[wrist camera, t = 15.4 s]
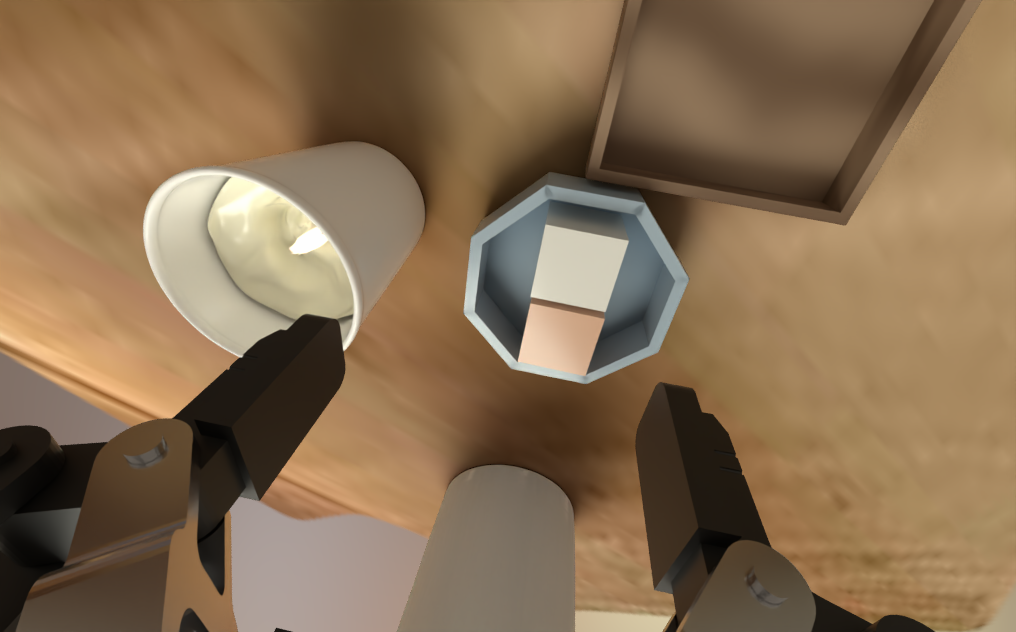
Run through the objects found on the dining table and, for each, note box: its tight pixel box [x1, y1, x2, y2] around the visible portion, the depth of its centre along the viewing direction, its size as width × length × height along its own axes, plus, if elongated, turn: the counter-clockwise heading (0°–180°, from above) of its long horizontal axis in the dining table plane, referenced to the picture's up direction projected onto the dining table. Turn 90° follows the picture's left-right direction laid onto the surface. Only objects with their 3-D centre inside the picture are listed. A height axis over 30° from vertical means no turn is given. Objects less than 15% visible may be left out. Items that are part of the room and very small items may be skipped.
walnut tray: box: [585, 0, 982, 225], centre depth 20 cm, size 14×14×3 cm
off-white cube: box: [530, 201, 629, 312], centre depth 25 cm, size 4×4×4 cm
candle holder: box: [143, 141, 425, 358], centre depth 23 cm, size 10×10×12 cm
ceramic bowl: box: [464, 172, 689, 384], centre depth 27 cm, size 13×13×4 cm
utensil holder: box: [397, 465, 575, 632], centre depth 36 cm, size 15×15×18 cm
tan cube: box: [518, 297, 605, 376], centre depth 28 cm, size 4×4×4 cm
